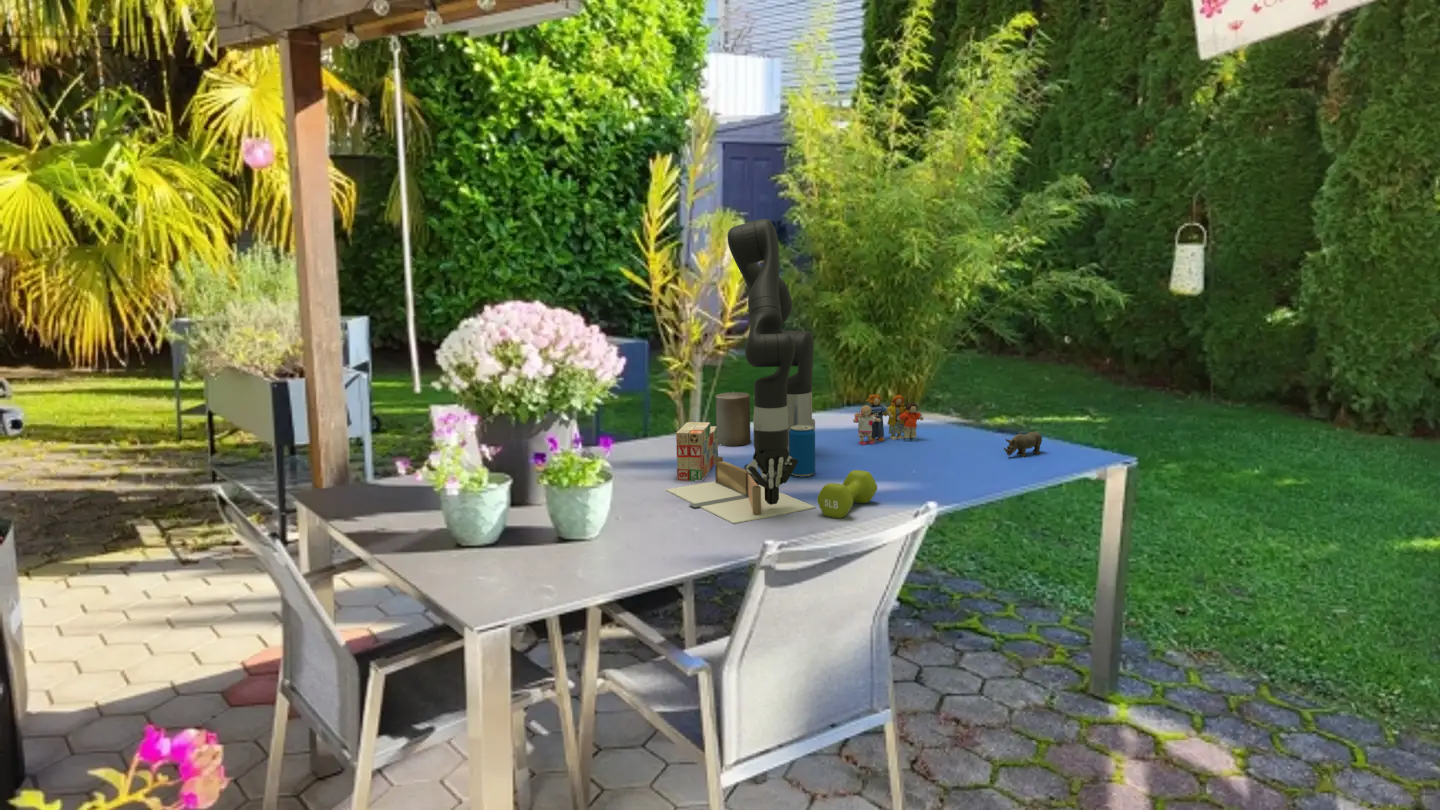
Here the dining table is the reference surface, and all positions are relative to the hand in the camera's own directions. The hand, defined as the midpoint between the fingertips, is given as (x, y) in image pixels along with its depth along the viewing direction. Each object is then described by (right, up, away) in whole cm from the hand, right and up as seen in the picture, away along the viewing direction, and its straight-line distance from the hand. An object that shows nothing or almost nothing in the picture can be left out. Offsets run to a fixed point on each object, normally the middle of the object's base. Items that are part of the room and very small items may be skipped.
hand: (771, 503), depth 225 cm
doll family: (+35, +11, +66) cm, 76 cm away
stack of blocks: (-17, +5, +36) cm, 40 cm away
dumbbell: (+17, -2, +1) cm, 17 cm away
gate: (-4, -1, +3) cm, 5 cm away
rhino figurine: (+68, +8, +46) cm, 82 cm away
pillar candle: (-8, +11, +66) cm, 67 cm away
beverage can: (+9, +4, +30) cm, 32 cm away
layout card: (-7, 0, +10) cm, 12 cm away
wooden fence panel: (-8, +2, +17) cm, 19 cm away
